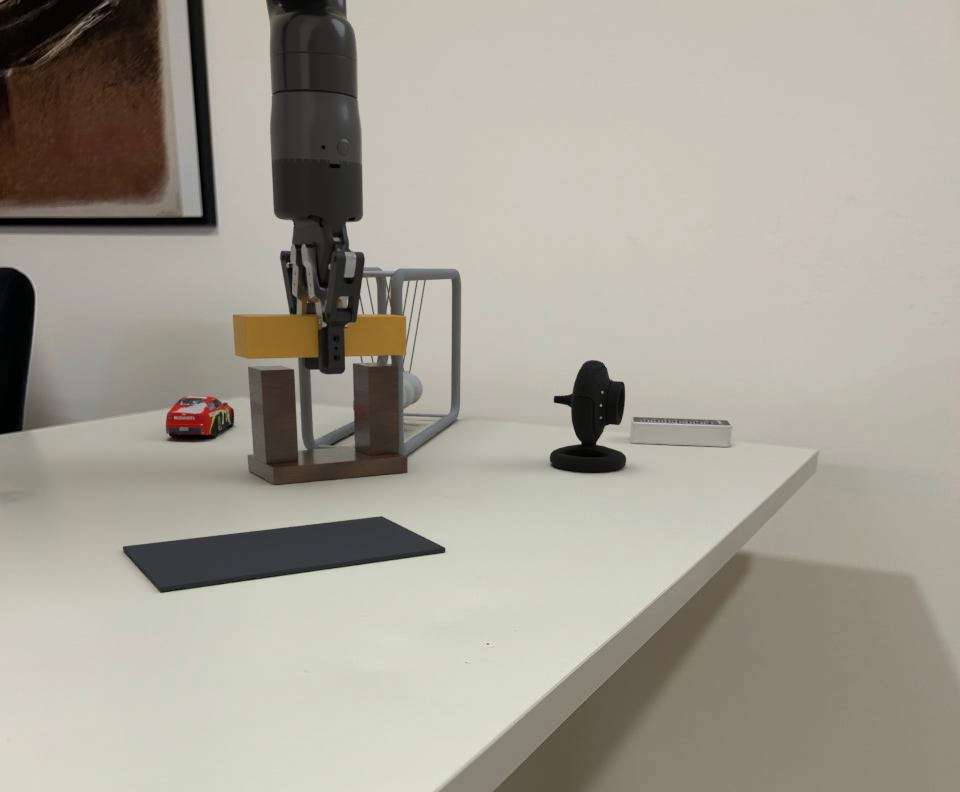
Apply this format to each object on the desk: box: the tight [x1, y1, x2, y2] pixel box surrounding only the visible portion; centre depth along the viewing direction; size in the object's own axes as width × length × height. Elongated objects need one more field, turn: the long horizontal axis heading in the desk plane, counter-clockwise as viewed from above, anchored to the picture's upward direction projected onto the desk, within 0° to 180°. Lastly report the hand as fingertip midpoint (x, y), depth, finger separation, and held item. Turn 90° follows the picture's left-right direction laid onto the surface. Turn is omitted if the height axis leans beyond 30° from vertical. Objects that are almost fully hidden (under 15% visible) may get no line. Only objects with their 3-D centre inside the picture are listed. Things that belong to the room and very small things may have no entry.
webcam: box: [549, 359, 627, 473], centre depth 95 cm, size 8×8×10 cm
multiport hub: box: [629, 416, 733, 448], centre depth 110 cm, size 4×11×2 cm, turn 83°
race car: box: [165, 395, 235, 439], centre depth 110 cm, size 13×5×4 cm, turn 178°
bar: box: [232, 313, 407, 360], centre depth 87 cm, size 15×3×3 cm, turn 121°
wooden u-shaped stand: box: [247, 361, 408, 486], centre depth 90 cm, size 13×7×10 cm, turn 121°
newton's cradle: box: [297, 266, 462, 456], centre depth 108 cm, size 30×10×18 cm, turn 170°
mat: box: [122, 515, 446, 593], centre depth 66 cm, size 19×10×1 cm, turn 121°
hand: (323, 370), depth 88 cm, fingers closed on bar, 3 cm apart
